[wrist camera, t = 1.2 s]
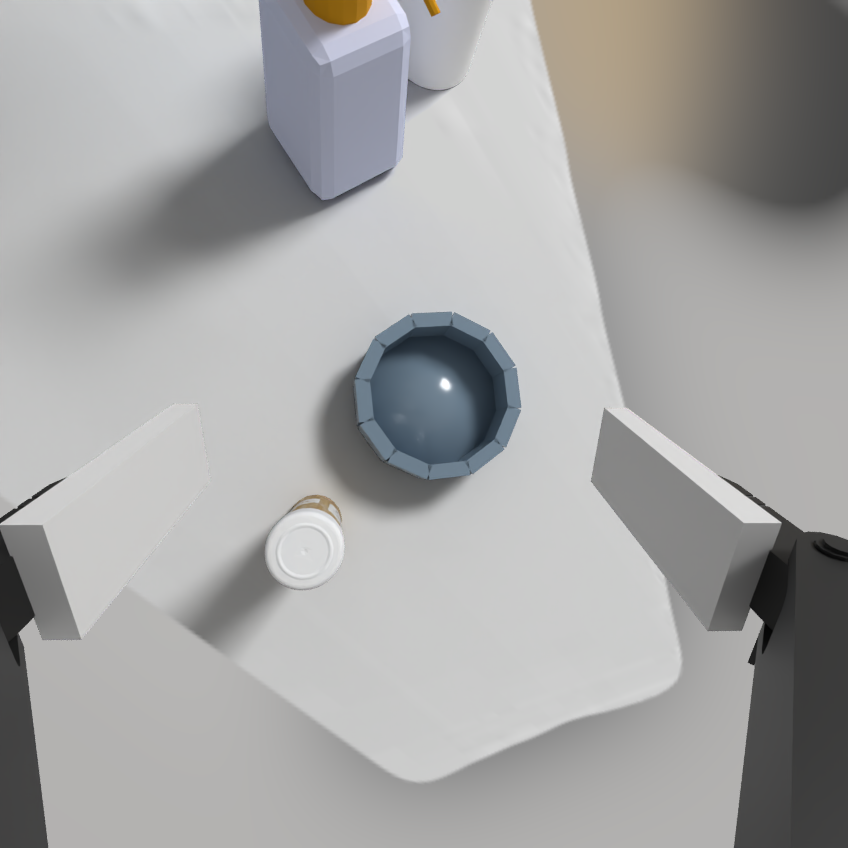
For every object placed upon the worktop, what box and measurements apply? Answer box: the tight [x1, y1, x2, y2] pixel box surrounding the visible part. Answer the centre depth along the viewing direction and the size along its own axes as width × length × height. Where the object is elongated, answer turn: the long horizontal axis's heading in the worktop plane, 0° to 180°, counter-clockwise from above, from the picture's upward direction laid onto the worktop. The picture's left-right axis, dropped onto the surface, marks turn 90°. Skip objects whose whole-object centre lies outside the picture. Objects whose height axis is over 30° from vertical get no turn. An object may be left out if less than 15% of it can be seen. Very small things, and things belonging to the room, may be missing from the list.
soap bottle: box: [259, 0, 440, 200], centre depth 31 cm, size 10×14×22 cm
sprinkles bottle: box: [264, 495, 345, 590], centre depth 33 cm, size 5×5×13 cm
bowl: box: [353, 312, 521, 480], centre depth 40 cm, size 14×14×4 cm
